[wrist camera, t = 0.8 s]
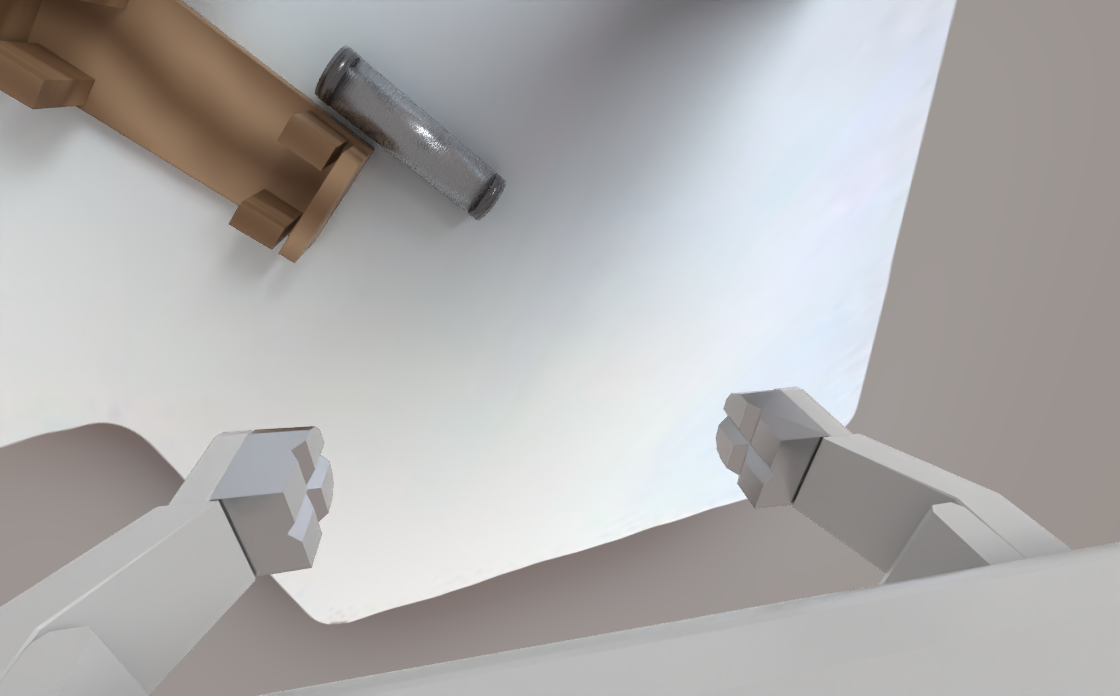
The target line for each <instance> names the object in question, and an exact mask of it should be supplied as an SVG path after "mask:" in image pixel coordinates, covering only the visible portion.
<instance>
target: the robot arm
mask: <svg viewBox="0 0 1120 696" xmlns="http://www.w3.org/2000/svg"><path fill="white" fill-rule="evenodd" d="M724 411H725V412H726V414H727V417H726V418H725V419H724V420H723V421H722V422H721V423H720V424H719V426H718V430H717V434H716V444H717V451H718V453H719V456H720V459H721V460H722V462H723V463H724V465H725V466H726V468H728V469H729V470H731V471H733V472H735V473H736V474H738V483H737V484H738V485H739V487H740V488H741V490H742V491H743V493H744V494H745V495H746V497H747V498H748V500H749V501H750V503H751V504H752V505H753V507H754V508H755V509H757V508H767V507H776V506H786V505H793V508H795V509H796V510H797V511H799V512H800V513H802V514H803V515H805V516H806V517H807V518H809V519H810V520H812V521H813V522H814V523H816V524H817V525H819V526H820V527H821V528H823V529H824V530H826V531H827V532H828V533H830V534H831V535H833V536H834V537H835V538H837V539H838V540H840V541H841V542H842V543H844V544H845V545H847V546H848V547H849V548H851V549H852V550H854V551H855V552H857V553H858V554H859V555H861V556H862V557H864V558H865V559H866V560H868V561H870V562H871V563H872V564H873V565H875V566H876V567H878V568H879V569H880V570H882V571H883V572H885V573H886V575H885V576H884V578H883V579H882V581H881V582H880V584H879V585H876V586H870V587H865V588H859V589H853V590H848V591H842V592H837V593H831V594H826V595H819V596H814V597H808V598H803V599H797V600H792V601H786V602H780V603H775V604H770V605H764V606H758V607H752V608H747V609H741V610H736V611H730V612H724V613H719V614H713V615H708V616H702V617H696V618H691V619H685V620H680V621H674V622H668V623H663V624H658V625H652V626H646V627H640V628H635V629H629V630H623V631H618V632H612V633H607V634H601V635H595V636H591V637H585V638H579V639H573V640H568V641H563V642H556V643H551V644H545V645H539V646H534V647H528V648H523V649H517V650H511V651H506V652H500V653H495V654H489V655H483V656H478V657H472V658H467V659H461V660H456V661H450V662H444V663H438V664H433V665H427V666H422V667H416V668H410V669H405V670H399V671H393V672H388V673H382V674H377V675H371V676H365V677H360V678H354V679H348V680H343V681H337V682H332V683H326V684H321V685H315V686H309V687H303V688H298V689H292V690H287V691H281V692H275V693H270V694H264V695H259V696H1120V542H1117V543H1112V544H1106V545H1101V546H1095V547H1089V548H1083V549H1078V550H1072V549H1070V548H1069V547H1068V546H1066V545H1065V544H1064V543H1063V542H1061V541H1060V540H1059V539H1057V538H1056V537H1055V536H1053V535H1052V534H1051V533H1050V532H1048V531H1047V530H1046V529H1044V528H1043V527H1042V526H1040V525H1039V524H1038V523H1037V522H1035V521H1034V520H1033V519H1031V518H1030V517H1029V516H1028V515H1026V514H1025V513H1024V512H1022V511H1021V510H1020V509H1018V508H1017V507H1016V506H1015V505H1013V504H1012V503H1011V502H1009V501H1008V500H1007V499H1005V498H1004V497H1003V496H1002V495H1000V494H998V493H996V492H994V491H992V490H989V489H987V488H985V487H982V486H980V485H978V484H975V483H973V482H971V481H968V480H966V479H964V478H961V477H959V476H957V475H954V474H952V473H950V472H947V471H945V470H942V469H940V468H938V467H936V466H933V465H931V464H929V463H926V462H924V461H921V460H919V459H917V458H915V457H912V456H910V455H908V454H905V453H903V452H901V451H898V450H896V449H894V448H891V447H889V446H887V445H884V444H882V443H880V442H877V441H875V440H872V439H870V438H868V437H866V436H864V435H861V434H852V433H851V432H850V431H848V429H846V428H845V427H844V426H843V425H842V424H841V423H840V422H839V421H838V420H836V419H835V418H834V417H833V416H832V415H831V414H830V413H829V412H827V411H826V410H825V409H824V408H823V407H822V406H821V405H820V404H819V403H817V402H816V401H815V400H814V399H813V398H812V397H811V396H810V395H809V394H807V393H806V392H805V391H804V390H803V389H800V388H797V387H788V388H779V389H774V390H764V391H753V392H741V393H731V394H730V395H729V397H728V398H727V399H726V402H725V405H724ZM323 446H324V440H323V437H322V434H321V431H320V429H318V428H317V427H315V426H311V427H294V428H278V429H261V430H254V431H252V430H249V431H234V432H223V433H221V434H219V435H217V436H216V437H215V438H214V439H213V441H212V442H211V444H210V445H209V447H208V448H207V449H206V451H205V452H204V454H203V455H202V457H201V458H200V460H199V461H198V462H197V464H196V465H195V467H194V468H193V470H192V471H191V473H190V474H189V475H188V477H187V478H186V480H185V481H184V483H183V484H182V486H181V487H180V489H179V490H178V492H177V493H176V494H175V496H174V497H173V499H172V500H171V502H170V503H169V504H168V506H161V507H156V508H154V509H153V510H151V511H150V512H148V513H146V514H145V515H143V516H142V517H140V518H138V519H137V520H135V521H134V522H132V523H131V524H129V525H128V526H126V527H124V528H123V529H121V530H120V531H118V532H117V533H115V534H113V535H112V536H110V537H109V538H107V539H106V540H104V541H103V542H101V543H100V544H98V545H96V546H95V547H93V548H92V549H90V550H89V551H87V552H85V553H84V554H82V555H81V556H79V557H78V558H76V559H74V560H73V561H71V562H70V563H68V564H67V565H65V566H63V567H62V568H60V569H59V570H57V571H56V572H54V573H53V574H51V575H50V576H48V577H46V578H45V579H43V580H42V581H40V582H39V583H37V584H35V585H34V586H32V587H31V588H29V589H28V590H26V591H25V592H23V593H22V594H20V595H18V596H17V597H15V598H14V599H12V600H10V601H9V602H7V603H6V604H4V605H3V606H1V607H0V696H151V695H150V693H151V692H152V691H153V690H154V689H155V688H156V686H158V684H159V683H160V682H161V681H162V680H163V679H164V678H165V677H166V676H167V675H168V674H169V673H170V671H171V670H172V669H173V668H174V667H175V666H176V665H177V664H178V663H179V662H180V661H181V660H182V658H184V656H185V655H186V654H187V653H188V652H189V651H190V650H191V649H192V648H193V647H194V646H195V645H196V644H197V643H198V641H199V640H200V639H201V638H202V637H203V636H204V635H205V634H206V633H207V631H209V630H210V629H211V627H212V626H213V625H214V624H215V623H216V622H217V621H218V620H219V619H220V618H221V617H222V616H223V615H224V614H225V612H226V611H227V610H228V609H229V608H230V607H231V606H232V605H233V604H234V603H235V602H236V600H237V599H238V598H239V597H240V596H241V595H242V594H243V593H244V592H245V591H246V590H247V589H248V588H249V587H250V586H251V584H252V583H253V582H254V581H255V580H256V578H255V577H256V576H263V575H269V574H275V573H282V572H288V571H294V570H300V569H307V568H312V565H313V562H314V558H315V555H316V552H317V549H318V545H319V542H320V539H321V536H322V532H321V529H320V526H319V523H318V522H319V521H320V520H321V519H322V518H323V517H324V516H325V515H327V514H328V513H329V509H330V505H331V502H332V496H333V484H334V483H333V473H332V468H331V465H330V461H328V460H327V459H325V458H324V457H323V456H321V455H320V454H321V451H322V449H323Z"/></svg>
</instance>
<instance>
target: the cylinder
mask: <svg viewBox="0 0 1120 696" xmlns="http://www.w3.org/2000/svg"><path fill="white" fill-rule="evenodd" d="M315 95H316V96H317V97H318V98H319V99H320V100H322V101H323V102H324V103H325V104H327V105H328V106H331V107H332V108H333V109H335V110H336V111H337V112H338V113H340V114H341V115H342V116H344V117H345V118H346V119H347V120H349V121H350V122H351V123H353V124H354V125H355V126H356V127H358V128H359V129H360V130H362V131H363V132H364V133H365V134H367V135H368V136H369V137H371V138H372V139H373V140H375V141H376V142H377V143H378V144H380V145H381V146H382V147H384V148H385V149H386V150H387V151H389V152H390V153H391V154H393V155H394V156H395V157H396V158H398V159H399V160H400V161H402V162H403V163H404V164H405V165H407V166H408V167H409V168H411V169H412V170H413V171H415V172H416V173H417V174H418V175H420V176H421V177H422V178H424V179H425V180H426V181H427V182H429V183H430V184H431V185H433V186H434V187H435V188H436V189H438V190H439V191H440V192H442V193H443V194H444V195H445V196H447V197H448V198H449V199H451V200H452V201H453V202H454V203H456V204H457V205H458V206H460V207H461V208H462V209H464V210H465V211H466V212H467V214H469V215H470V216H471V217H473V218H474V219H475V220H480V219H482V218H483V217H484V216H485V215H486V214H487V213H488V212H489V210H490V209H491V208H492V207H493V205H494V204H495V203H496V201H497V200H498V198H499V197H500V195H501V194H502V192H503V190H504V188H505V185H506V181H505V180H504V179H503V178H502V177H501V176H499V175H498V174H497V173H495V172H494V171H493V170H492V169H490V168H489V167H488V166H487V165H486V164H485V163H483V162H482V161H481V160H480V159H479V158H478V157H476V156H475V155H474V154H473V153H472V152H471V151H469V150H468V149H467V148H466V147H465V146H463V145H462V144H461V143H460V142H459V141H458V140H456V139H455V138H454V137H453V136H452V135H451V134H449V133H448V132H447V131H446V130H445V129H444V128H442V127H441V126H440V125H439V124H438V123H437V122H435V121H434V120H433V119H432V118H431V117H430V116H428V115H427V114H426V113H425V112H424V111H423V110H421V109H420V108H419V107H418V106H417V105H415V104H414V103H413V102H412V101H411V100H410V99H408V98H407V97H406V96H405V95H404V94H403V93H401V92H400V91H399V90H398V89H397V88H396V87H394V86H393V85H392V84H391V83H390V82H389V81H387V80H386V79H385V78H384V77H383V76H382V75H380V74H379V73H378V72H377V71H376V70H374V69H373V68H372V67H371V66H370V65H369V64H367V63H366V62H365V61H364V60H363V59H362V58H361V57H360V56H359V55H358V54H357V53H356V52H354V51H353V50H352V49H351V48H350V47H348V46H344V47H342V48H341V49H340V50H339V51H338V52H337V53H336V54H335V55H334V57H333V58H332V59H331V61H330V62H329V64H328V65H327V67H326V68H325V70H324V72H323V74H322V75H321V77H320V79H319V82H318V84H317V87H316V90H315Z"/></svg>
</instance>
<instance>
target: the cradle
mask: <svg viewBox="0 0 1120 696" xmlns="http://www.w3.org/2000/svg"><path fill="white" fill-rule="evenodd" d="M0 90H1V91H3V92H5V93H6V94H8V95H10V96H11V97H13V98H15V99H16V100H18V101H20V102H22V103H23V104H25V105H27V106H28V107H30V108H32V109H42V108H54V107H67V106H77V107H78V108H80V109H82V110H83V111H85V112H87V113H88V114H90V115H91V116H93V117H95V118H96V119H98V120H100V121H101V122H103V123H105V124H106V125H108V126H109V127H111V128H113V129H114V130H116V131H118V132H119V133H121V134H123V135H124V136H126V137H127V138H129V139H131V140H132V141H134V142H136V143H137V144H139V145H141V146H142V147H144V148H145V149H147V150H149V151H150V152H152V153H154V154H155V155H157V156H159V157H160V158H162V159H163V160H165V161H167V162H168V163H170V164H172V165H173V166H175V167H177V168H178V169H180V170H181V171H183V172H185V173H186V174H188V175H190V176H191V177H193V178H195V179H196V180H198V181H199V182H201V183H203V184H204V185H206V186H208V187H209V188H211V189H213V190H214V191H216V192H217V193H219V194H221V195H222V196H224V197H226V198H227V199H229V200H231V201H232V202H234V203H235V204H237V205H239V207H238V209H237V210H236V212H235V214H234V216H233V217H232V219H231V221H230V222H229V225H231V226H233V227H234V228H236V229H238V230H239V231H241V232H243V233H245V234H246V235H248V236H250V237H251V238H253V239H255V240H256V241H258V242H260V243H262V244H263V245H265V246H267V247H268V248H270V249H273V248H274V247H275V246H276V245H277V244H278V243H279V242H280V241H281V240H283V239H284V238H285V237H286V236H287V235H288V236H289V238H288V239H287V241H286V242H285V244H284V246H283V247H282V249H281V250H280V252H279V254H280V255H282V256H284V257H285V258H287V259H289V260H290V261H292V262H294V263H295V262H296V261H297V260H298V258H299V257H300V256H301V255H302V254H303V253H304V252H305V251H306V250H307V248H309V247H310V246H311V245H312V244H313V242H314V241H315V239H316V238H317V236H318V235H319V233H320V232H321V230H322V229H323V227H324V226H325V224H326V222H327V221H328V219H329V218H330V216H331V215H332V213H333V212H334V210H335V209H336V207H337V206H338V204H339V203H340V201H341V200H342V198H343V197H344V195H345V194H346V192H347V191H348V189H349V188H350V186H351V184H352V183H353V181H354V180H355V178H356V177H357V175H358V174H359V172H360V171H361V169H362V168H363V166H364V165H365V163H366V162H367V160H368V159H369V157H370V156H371V154H372V153H373V151H374V150H375V149H374V148H373V147H372V146H370V145H369V144H368V143H366V142H365V141H364V140H362V139H361V138H360V137H359V136H357V135H356V134H355V133H353V132H352V131H351V130H349V129H348V128H347V127H345V126H344V125H343V124H342V123H340V122H339V121H338V120H336V119H335V118H334V117H332V116H331V115H330V114H329V113H327V112H326V111H325V110H323V109H322V108H321V107H319V106H318V105H317V104H315V103H314V102H313V101H312V100H310V99H309V98H308V97H306V96H305V95H304V94H302V93H301V92H300V91H298V90H297V89H296V88H295V87H293V86H292V85H291V84H289V83H288V82H287V81H285V80H284V79H283V78H282V77H280V76H279V75H278V74H276V73H275V72H274V71H272V70H271V69H270V68H268V67H267V66H266V65H265V64H263V63H262V62H261V61H259V60H258V59H257V58H255V57H254V56H253V55H251V54H250V53H249V52H248V51H246V50H245V49H244V48H242V47H241V46H240V45H238V44H237V43H236V42H235V41H233V40H232V39H231V38H229V37H228V36H227V35H225V34H224V33H223V32H221V31H220V30H219V29H218V28H216V27H215V26H214V25H212V24H211V23H210V22H208V21H207V20H206V19H205V18H203V17H202V16H201V15H199V14H198V13H197V12H195V11H194V10H193V9H191V8H190V7H189V6H188V5H186V4H185V3H184V2H182V1H181V0H0Z"/></svg>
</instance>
